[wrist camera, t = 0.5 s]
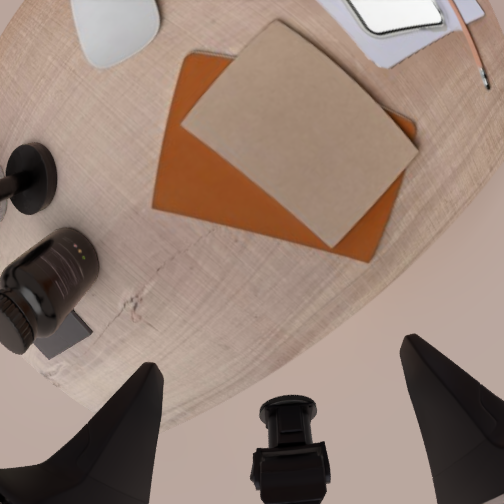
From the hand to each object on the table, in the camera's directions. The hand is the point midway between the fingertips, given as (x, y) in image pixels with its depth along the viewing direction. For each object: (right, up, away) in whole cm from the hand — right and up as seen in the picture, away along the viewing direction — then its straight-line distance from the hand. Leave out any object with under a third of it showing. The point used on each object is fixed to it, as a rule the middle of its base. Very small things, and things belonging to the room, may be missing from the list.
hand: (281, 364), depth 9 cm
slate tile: (-28, -5, +19) cm, 34 cm away
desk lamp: (-23, +11, +11) cm, 27 cm away
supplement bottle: (-19, +3, +15) cm, 24 cm away
